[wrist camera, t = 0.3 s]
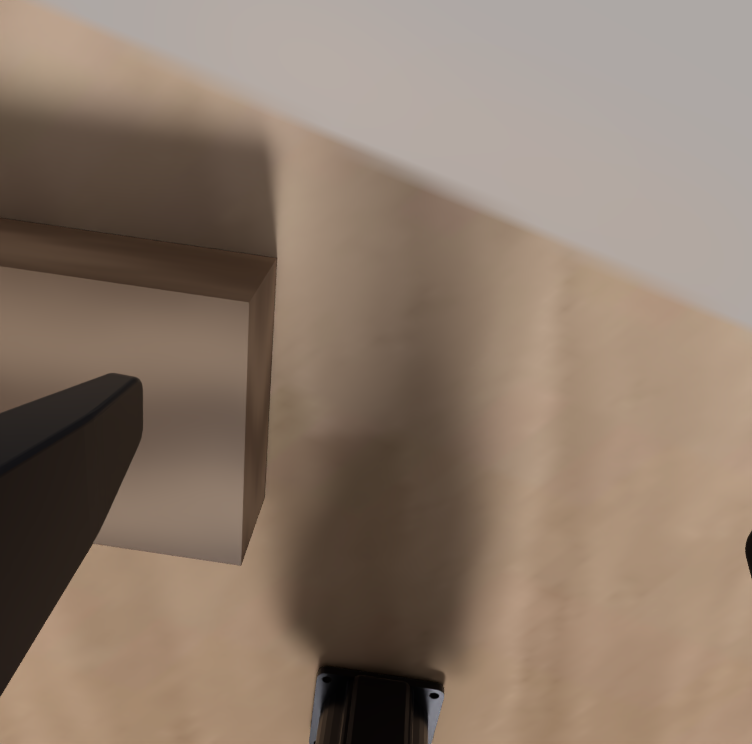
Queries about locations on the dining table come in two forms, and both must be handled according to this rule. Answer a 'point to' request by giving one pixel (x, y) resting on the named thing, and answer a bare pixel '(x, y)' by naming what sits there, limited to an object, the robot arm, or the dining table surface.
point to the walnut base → (152, 371)
